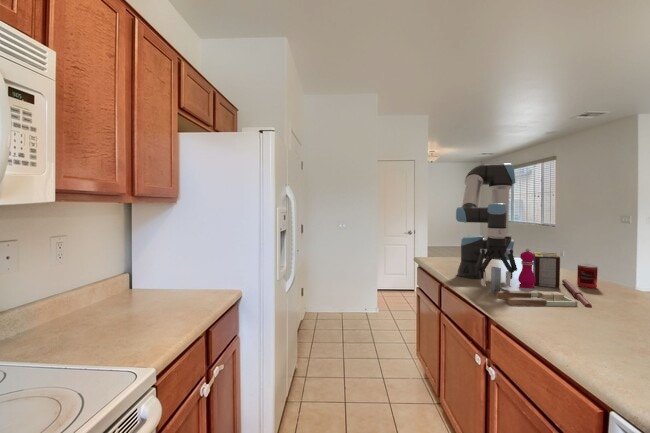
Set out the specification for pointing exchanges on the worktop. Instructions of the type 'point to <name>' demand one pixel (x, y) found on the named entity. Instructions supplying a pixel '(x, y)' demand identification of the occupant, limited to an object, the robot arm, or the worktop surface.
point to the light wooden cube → (557, 296)
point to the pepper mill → (527, 270)
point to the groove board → (519, 298)
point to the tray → (558, 303)
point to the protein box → (546, 269)
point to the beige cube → (545, 296)
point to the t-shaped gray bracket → (496, 280)
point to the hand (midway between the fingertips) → (495, 285)
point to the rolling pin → (576, 294)
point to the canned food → (587, 276)
